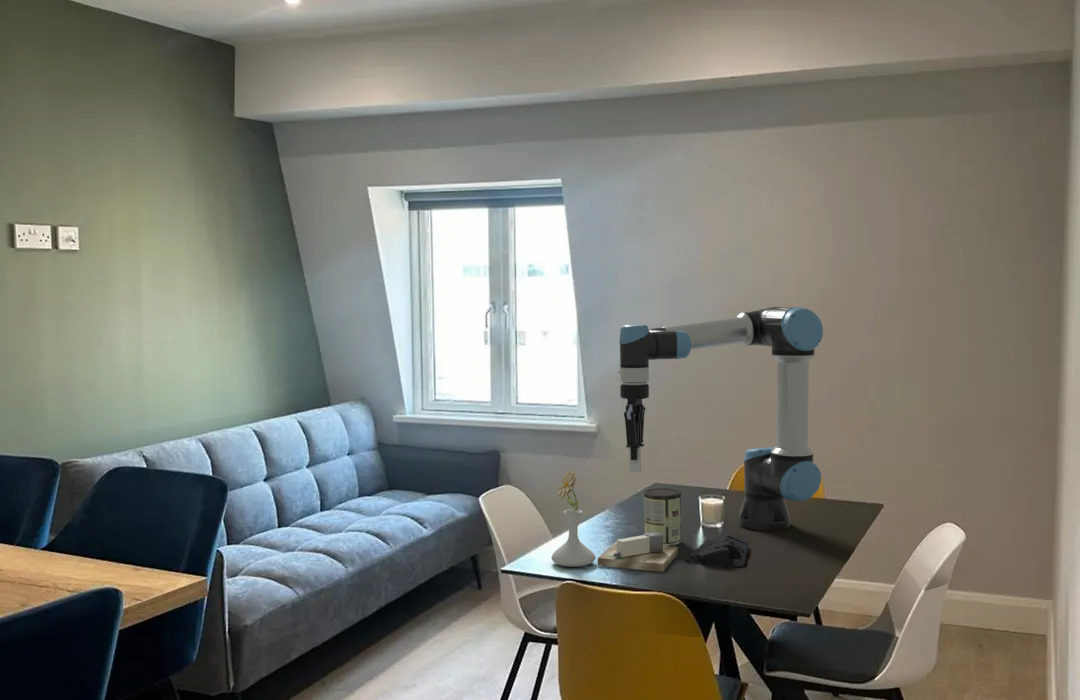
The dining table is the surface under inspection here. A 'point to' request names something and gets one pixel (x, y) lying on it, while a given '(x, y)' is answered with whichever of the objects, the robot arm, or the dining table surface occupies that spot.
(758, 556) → the dining table surface
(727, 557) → the dark slate chunk
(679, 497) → the coffee can
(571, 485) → the flower in vase
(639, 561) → the board
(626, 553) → the peg
